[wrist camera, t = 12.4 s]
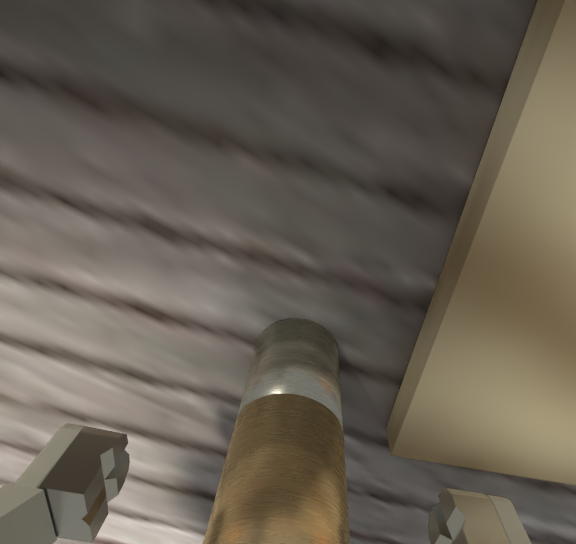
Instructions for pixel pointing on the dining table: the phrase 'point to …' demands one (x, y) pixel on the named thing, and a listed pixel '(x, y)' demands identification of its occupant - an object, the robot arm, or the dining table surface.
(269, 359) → the amber glass vial
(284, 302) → the dining table surface
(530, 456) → the panel
